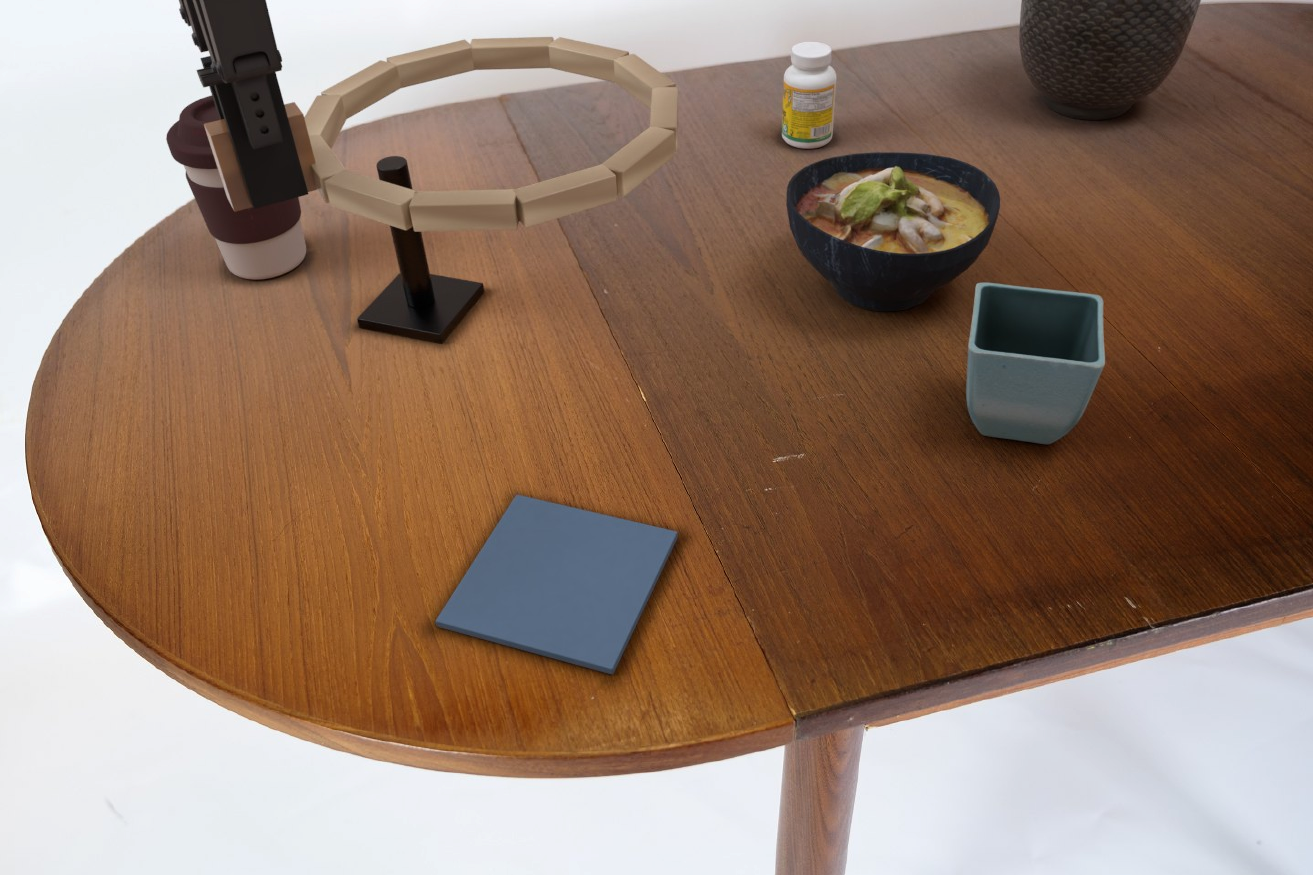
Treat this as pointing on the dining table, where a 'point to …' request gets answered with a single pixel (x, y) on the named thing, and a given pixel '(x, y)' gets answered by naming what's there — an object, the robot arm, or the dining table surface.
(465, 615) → the mat
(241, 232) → the coffee cup
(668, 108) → the segmented ring with tab
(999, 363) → the flower pot
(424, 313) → the post on square base
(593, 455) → the dining table surface
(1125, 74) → the planter
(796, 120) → the supplement bottle
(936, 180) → the bowl
